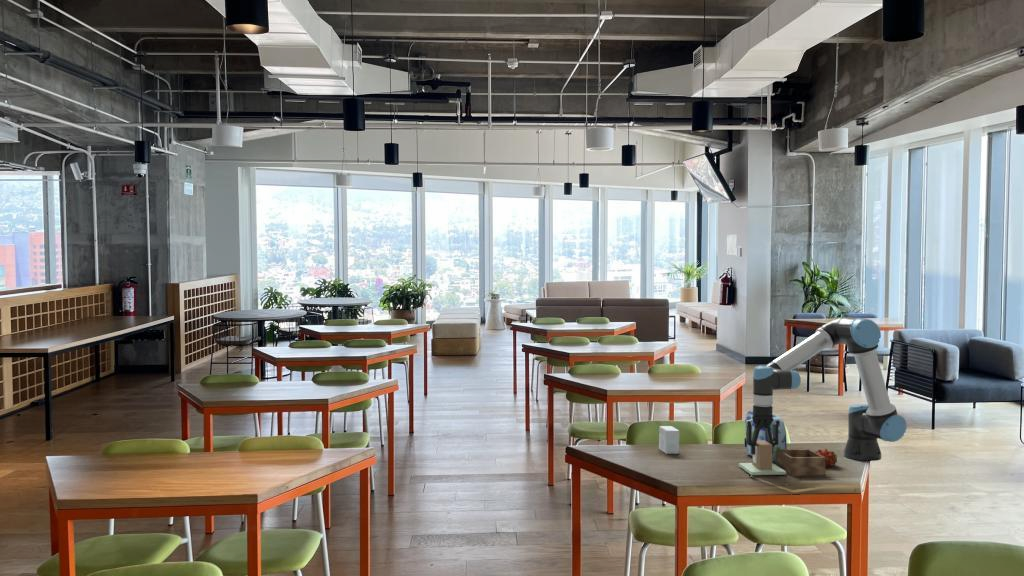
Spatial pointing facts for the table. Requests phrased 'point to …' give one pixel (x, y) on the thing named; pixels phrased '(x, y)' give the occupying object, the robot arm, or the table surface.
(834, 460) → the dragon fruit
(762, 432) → the lunch box
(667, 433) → the skincare box
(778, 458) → the box
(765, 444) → the lid
